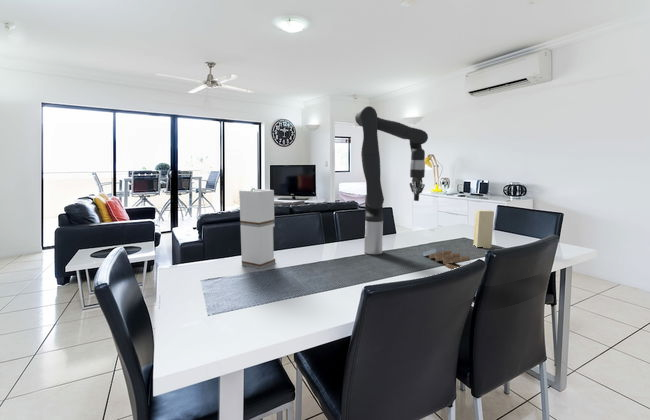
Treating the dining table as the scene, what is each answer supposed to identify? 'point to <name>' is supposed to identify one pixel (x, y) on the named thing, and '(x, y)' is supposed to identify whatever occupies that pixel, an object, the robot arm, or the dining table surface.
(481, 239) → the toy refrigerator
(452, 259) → the walnut domino
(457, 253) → the walnut domino
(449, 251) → the walnut domino
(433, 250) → the slate domino
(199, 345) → the dining table surface
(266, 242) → the white banded tower
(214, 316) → the dining table surface
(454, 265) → the walnut domino
